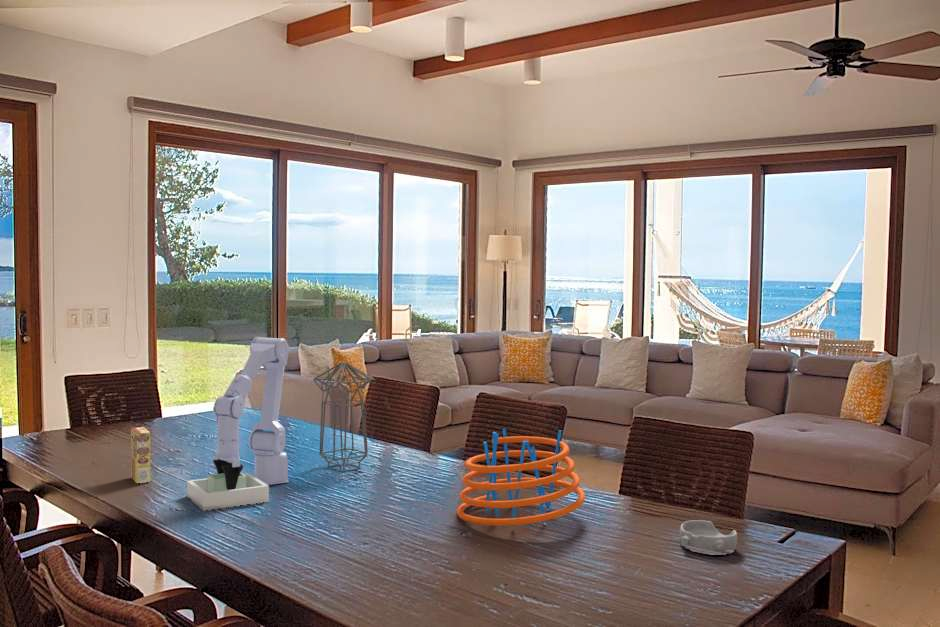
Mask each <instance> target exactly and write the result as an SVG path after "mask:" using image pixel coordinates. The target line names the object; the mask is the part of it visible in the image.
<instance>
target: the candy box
mask: <svg viewBox="0 0 940 627" xmlns="http://www.w3.org/2000/svg"><path fill="white" fill-rule="evenodd" d="M130 478H131V479H132V480H133V481H134V482H135V484H136V483H137V485H138V483H140V484H146V483H147V482H148V483H151V432H150V431H149V430H148V429H147V428H146V427H144V426H141V427H130Z"/></svg>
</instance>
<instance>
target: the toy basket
mask: <svg viewBox="0 0 940 627" xmlns="http://www.w3.org/2000/svg"><path fill="white" fill-rule="evenodd" d="M502 435H503V437H502V436H501V437H499V436H500V434H499V433H497V432H496V431H493V432H492V438H491V443H492V452H489V448H488V442H487V441H483V447H484V448H483V449H484V453H482V454H478V455H474V456H471V457H469V458H468V459H466V461H465V462H464V467H465V468H466V469H468V470H469V471H470V472H468V473H466V474H465V475H463V477H462V478H461V479H462V480H461V481H462V483H463V485H464V486H465V487H466V488H464V489H463V490H462V491H461V492H460V494H459V499H460V500H461V502H463V503H462V504H460V505H459V506H458V508H457V510H456V512H457V516H458V517H459V519H461V520H462V519H463V520H462V521H465V522H467V523H470V524H476V525H483V526H499V527H500V526H519V525H527V524H535V523H539V522H542V521H543V522H546V523H547V521H550V520H554V519H556V518H560V517H562V516H566V515H568V514H570V513H572V512H574V511H576V510H577V509H579V508H580V507H581V506H583V504H584V502H585V500H586V494H585V492H584V490H583V489H582V488H580V487H579V486H580V484H581V480H580V477H579V475H578V474H577V473H576V472H574V470H575V462H574V460H573V459H572V458H570V457H569V456H568V455H569V454H570V447H569V445H568V444H567V443H566V442H564V441H562V440H561V437H562V430H558V432H557V439H555V438H549V437H543V436H542V437H541V436H527V435H526V436H525V435H524V436H520V435H519V436H507V429H506V428H502ZM508 443H509V444H511V443H512V444H513V443H521V444H522V445H521V450H518V449H517V450H508ZM530 443H533V444H543V445H544V444H545V445H550V446H555V451H554V452H552V451H544V450H536V448H535V445H534V446H533V445H532V446H530ZM498 444H503V448H504V450H503V451H497V449H498ZM560 449H562V451H561V452H560V453H559V450H560ZM512 457H520V459H519V463H515V464H510V463H509V462H510V461H509V458H512ZM525 457H530V462H524V459H525ZM537 457H539V458H544V459H540V460H537ZM499 458H500V459H501V458H504V459H505V464H502V465H497V459H499ZM485 460H486V465H480V464H476V463H479V462H481V461H485ZM490 460H491V461H490ZM560 461H561V462H563V463H566V464H567V467H565V468H564V467H561V466H557V464H558V463H557V462H560ZM523 471H534V475H535V477H522V474H523ZM539 471H542V472H551V475H548V476H545V477H540V474H539ZM512 472H517V477H511V473H512ZM498 473H499V474H501V473H506V478H500V479H497V474H498ZM487 474H488V477H489V478H488V480H487V481H483V482H478V481H472V480H471V479H473V478H476V477H479V476H481V475H482V476H483V475H487ZM566 477H568V478H571V479H572V480H573V482H572V483H571V482H569V481H568V482H567V481H563V480H562V479H564V478H566ZM543 485H545V486H546V485H547V486H548V485H549V489H548V490H549V491H548V494H546V492H545V489H544V486H543ZM554 486H556V487H560V488H562V489H561V490H558V491H554V492H553V490H554ZM534 487H536V488H537V489H536V490H537V494H538V496H535V497H529V498H523V499H519V493H520V489H526V488H527V489H528V488H534ZM478 490H484V491H487V492H486V494H485V495H482V496H478V497H475V498H471V497H469V496H467V495H469V494H471V493H473V492H475V491H478ZM506 490H507V493H508V500H497V491H506ZM512 490H515V493H514V500H513V495H512ZM571 493H575V494H577V495H578V498H577V499H576V500H575V501H574V502H572V503H571V504H569V505H567V506H565V507H563V508H560V509H557V510H554V511H549V512H547V513H545V508H546V510H547V509H550V510H551V502H552V501H556V500H559V499H561V498H564V497H566V496H568V495H570V494H571ZM490 498H492V500H491V501H489V499H490ZM485 499H486V501H485ZM544 504H545V508H544ZM469 505H472V506H471V507H479V508H484V511H483V514H484V513H485V514H484V515H486V513H487V514H488V511H489V509H490V508H492V509H494V515H495V517H499V510H498V508H499V509H503V508H505V509H507V508H512V513H511V518H509V517H508V518H487V517H478V516H473V515H470V514H467V513H465V510H466V509H465V508H466V507H467V506H469ZM534 505H539V508H540V514H535V515H530V516H522V517H516V514H517V508H520V507H527V506H534ZM464 509H465V510H464ZM543 522H542V523H543Z"/></svg>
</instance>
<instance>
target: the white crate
mask: <svg viewBox="0 0 940 627" xmlns="http://www.w3.org/2000/svg"><path fill="white" fill-rule="evenodd" d="M243 474H244V475H246V476H247V478H246V488H240V489H232V490H225V491H217V492H209V493H208V477H207V478H197V479H190V480H186V498H188V499H189V498H190V499H191V500H192V501H191V500H190V499H189V500H190V501H191V502H192V503H193V504H195V505H196V506H197V505H198V506H199V507H198V506H197V507H198V508H199V509H201V510H202V512H207V511H206V510H208V511H213V510H212V509H215V510H219V509H218V508H222V509H228V507H229V508H234V506H236V507H241V506H240V505H243V506H248V505H247V504H250V505H257V504H262V503H263V502H264V503H268V502H270V498H269V497H270V485H267V484H265V483H264V482H262V481H261V480H259V479H257V478H256V477H255V475H252V474H251V473H249V472H248V473H247V472H246V473H243ZM256 503H257V504H256ZM226 507H227V508H226Z"/></svg>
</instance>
